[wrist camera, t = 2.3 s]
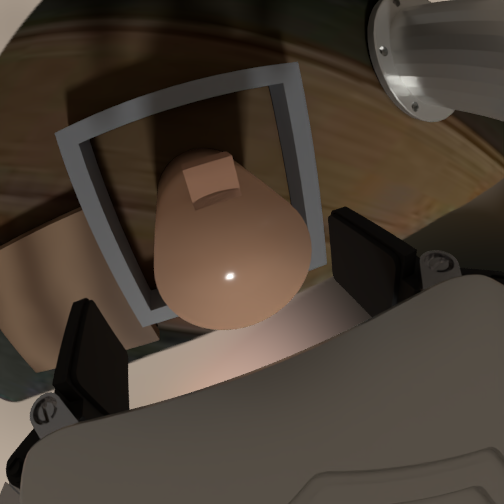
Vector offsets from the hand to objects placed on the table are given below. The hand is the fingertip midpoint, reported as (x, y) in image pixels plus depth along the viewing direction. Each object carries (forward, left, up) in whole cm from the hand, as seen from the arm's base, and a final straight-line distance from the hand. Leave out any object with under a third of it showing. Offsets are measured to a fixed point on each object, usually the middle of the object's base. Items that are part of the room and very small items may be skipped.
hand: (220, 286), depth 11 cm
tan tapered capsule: (-1, 0, -10) cm, 10 cm away
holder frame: (-1, 0, -10) cm, 10 cm away
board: (+13, +4, -10) cm, 17 cm away
